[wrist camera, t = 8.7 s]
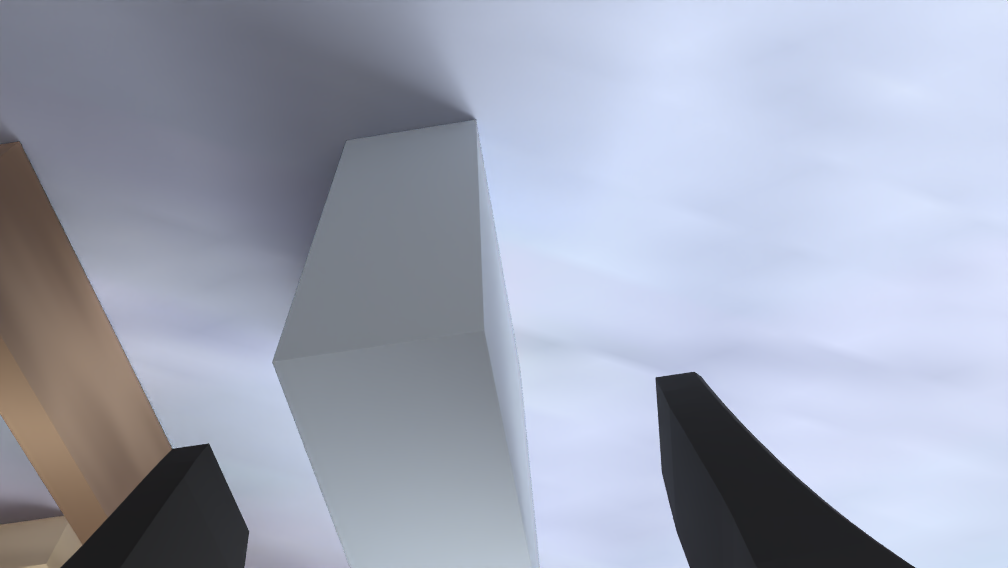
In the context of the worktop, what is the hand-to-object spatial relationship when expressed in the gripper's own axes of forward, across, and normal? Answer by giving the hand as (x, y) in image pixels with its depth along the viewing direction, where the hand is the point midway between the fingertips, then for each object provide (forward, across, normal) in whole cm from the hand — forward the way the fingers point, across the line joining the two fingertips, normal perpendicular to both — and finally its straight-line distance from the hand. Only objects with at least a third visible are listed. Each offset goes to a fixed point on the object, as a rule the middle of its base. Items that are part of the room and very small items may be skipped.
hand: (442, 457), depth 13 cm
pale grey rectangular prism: (+5, 0, -1) cm, 5 cm away
